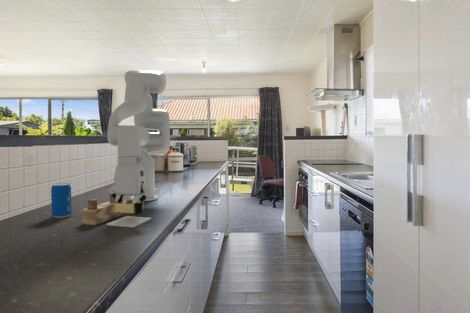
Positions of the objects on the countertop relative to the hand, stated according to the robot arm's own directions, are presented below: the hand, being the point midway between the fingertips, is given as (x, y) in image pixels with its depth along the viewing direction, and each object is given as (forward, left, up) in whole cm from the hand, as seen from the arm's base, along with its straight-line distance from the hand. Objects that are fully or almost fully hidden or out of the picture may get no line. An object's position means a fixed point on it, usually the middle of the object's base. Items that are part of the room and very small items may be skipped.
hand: (129, 212), depth 116 cm
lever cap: (0, 0, +1) cm, 1 cm away
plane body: (-1, -11, -3) cm, 11 cm away
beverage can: (0, -28, -3) cm, 28 cm away
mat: (0, 0, -3) cm, 3 cm away
